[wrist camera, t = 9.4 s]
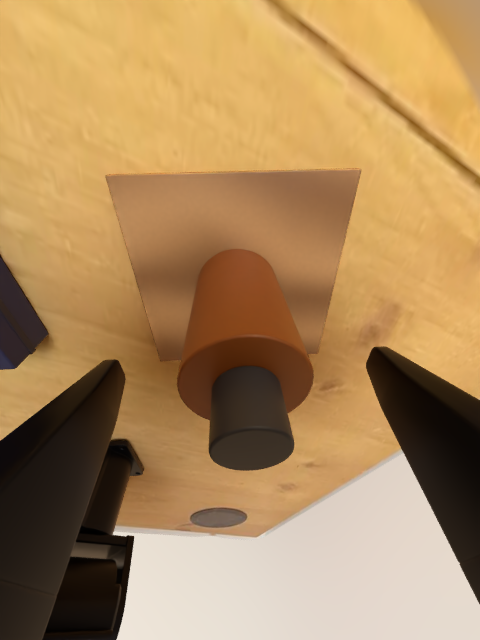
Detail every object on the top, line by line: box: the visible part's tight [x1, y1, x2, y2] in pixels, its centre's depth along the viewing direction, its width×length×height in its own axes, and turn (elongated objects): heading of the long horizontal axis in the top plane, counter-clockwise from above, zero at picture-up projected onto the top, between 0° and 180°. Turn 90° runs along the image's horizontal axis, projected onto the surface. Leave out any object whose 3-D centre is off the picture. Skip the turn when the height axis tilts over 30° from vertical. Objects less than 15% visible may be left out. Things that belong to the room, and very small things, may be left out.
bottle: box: [177, 249, 314, 470], centre depth 10 cm, size 4×4×9 cm
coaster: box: [106, 168, 361, 361], centre depth 14 cm, size 11×11×1 cm
